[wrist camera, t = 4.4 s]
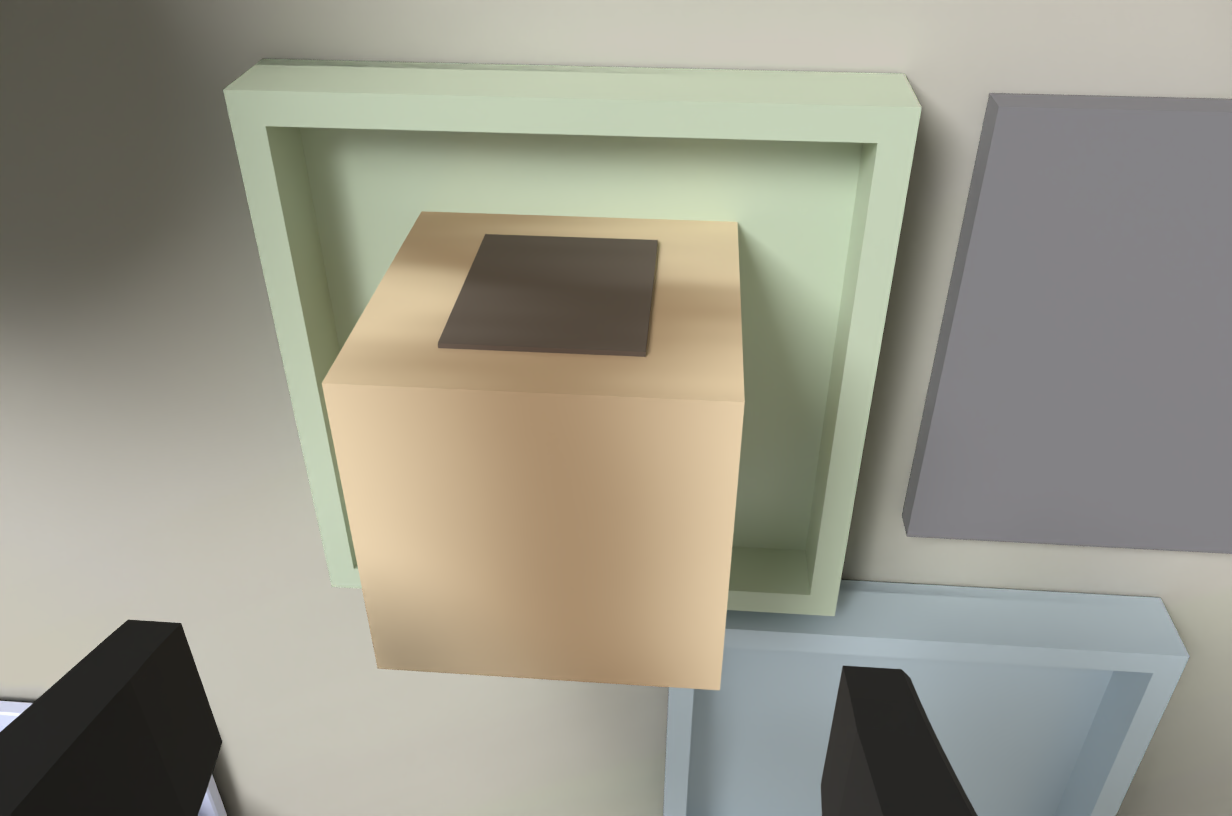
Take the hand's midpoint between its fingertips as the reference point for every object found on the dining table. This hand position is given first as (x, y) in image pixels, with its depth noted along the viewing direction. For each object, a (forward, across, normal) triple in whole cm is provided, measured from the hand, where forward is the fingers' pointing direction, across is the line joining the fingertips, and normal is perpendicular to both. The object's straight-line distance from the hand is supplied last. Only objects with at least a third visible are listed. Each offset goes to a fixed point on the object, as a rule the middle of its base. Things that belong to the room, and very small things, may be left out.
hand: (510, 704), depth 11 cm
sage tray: (+8, 0, 0) cm, 8 cm away
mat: (+8, -9, 0) cm, 12 cm away
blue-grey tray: (+8, -6, +10) cm, 14 cm away
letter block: (+8, 0, 0) cm, 8 cm away
